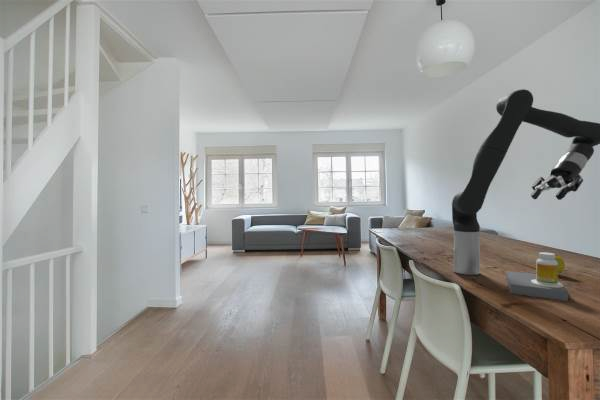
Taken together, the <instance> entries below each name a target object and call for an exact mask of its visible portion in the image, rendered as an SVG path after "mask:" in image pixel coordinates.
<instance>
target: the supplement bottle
mask: <svg viewBox="0 0 600 400" xmlns="http://www.w3.org/2000/svg"><path fill="white" fill-rule="evenodd" d="M555 255H556V254H555V253H553V252H545V251H541V252H538V257H539V258H538V259H536V261H535V264H536V266H535V267H536V268H535V272H536V273H535V274H536V281H537V282H538V283H541V284H545V285H557V284H558V281H559V274H558V262H557V261H555V260H554V259H555Z"/></svg>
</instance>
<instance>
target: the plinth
mask: <svg viewBox="0 0 600 400" xmlns="http://www.w3.org/2000/svg"><path fill="white" fill-rule="evenodd" d="M505 280H506V283H507V286H508V290H509V293H510V292H511V293H510V294H513V293H514V295H520V296H521V295H522V296H528V297H537V298H544V299H551V300H556V301H557V300H559V301H564V302H565V301H566V302H568V301H569V291H568V290H567V288H566V287H565V286H564V285H563V284H562V283H561V282H560V280H558V284H557V285H545V284H541V283H538V282H537V281H536V273H530V272H519V271H509V270H505Z"/></svg>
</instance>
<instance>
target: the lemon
mask: <svg viewBox="0 0 600 400" xmlns="http://www.w3.org/2000/svg"><path fill="white" fill-rule="evenodd" d="M554 260H555V261H557V262H558V275H559V274H561V273H563V272H564V271H565V267H566V266H565V261H564V259H563V258H562V257H561V256H559V255H557V254H555V259H554Z"/></svg>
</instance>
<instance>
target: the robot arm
mask: <svg viewBox="0 0 600 400" xmlns="http://www.w3.org/2000/svg"><path fill="white" fill-rule="evenodd" d="M533 103H534V95H533V94H532V92H531V91H530V90H528V89H524V88H523V89H518V90H514V91H512V92H510V93H508V94H506V95H504V96H503V97H501V98H499V100H498V101H497V103H496V107H495V108H496V112H497V113H498V114H499V116H501V118H500V119H499V121H498V123H497V124H496V126H495V127H494V128H493V129H492V131H490V132H489V134H488V135H487V136H486V138H485V139H484V141H483V142H482V143H481V145H480V147H479V148H478V150H477V153H476V155H475V158H474V159H473V165H472V171H471V176H470V178H469V181H468V183H467V185H466V186H465V188H464V190H463V191H460V192H457V194H455V195H454V196H453V198H452V202H451V217H452V225H453V252H452V253H453V255H452V256H453V259H452V260H453V261H452V262H453V263H452V264H453V265H452V266H453V273H456V274H461V275H465V276H466V275H467V276H478V275H479V274H481V273H480V272H481V271H480V269H481V267H480V266H481V265H480V259H481V258H480V256H481V255H480V253H481V252H480V250H481V249H480V248H481V247H480V243H481V242H480V237H481V236H480V233H481V232H480V231H481V229H480V228H481V227H480V224H479V222H478V218H477V215H478V212H479V211H481V210H482V207H483V204H484V202H485V199H486V196H487V193H488V191H489V188H490V185H491V184H492V182H493V180H494V178H495V176H496V174H497V172H498V170H499V168H500V166H501V165H502V163H503V161H504V159H505V158H506V155H507V152H508V151H509V148H510V146H511V144H512V142H513V140H514V138H515V136H516V134H517V132H518V130H519V128H520V126H521V125H522V123H527V124H530V125H533V126H537V127H539V128H542V129H544V130H547V131H549V132H552V133H554V134H557V135H559V136H562V137H563V138H568V139H569V138H572V141H571V143H570V147H569V148H568V149H567V151H566V152H565V154H564V155H562V156H561V157H560V158H559V160H558V161H557V163H556V164H555V166H553V167H552V169H551V171H550V174H549V176H547V177H545V178H544V177H543V176H540V177H538V178H537V180H535V182H534V183H533V184H532V185H531V186H530V188H531V189H532V190H533V192H532V193H531V194H530V196H531V198H532V199H533V200H537V199H538V198H539V196H540V195H541V194H542V193H543V192H545V191H549V190H551V189H556V188H557V189H559V190H558V192H557V193H556V194H555V198H556V199H557V200H558V201H561V200H562V199H564V198H565V197H566V196H567V194H568V193H570V192H573V193H574V192H575V193H576V192H577V191H578V189H579V188H580V186H581V185H582V183H583V182H584V179H583V177H582V176H581V175H580V174H581V172H582V171H583V169H584V168H585V167H586V165H587V163H588V162H589V160H590V159H591V158H592V156H593V155H594V153H595V149H594V147H595V146H598V145H600V122H595V121H589V120H588V121H587V120H580V119H578V118H576V117H573V116H570V115H568V114H565V113H561V112H557V111H551V110H545V109H541V108H537V107H533ZM546 184H547V185H546Z"/></svg>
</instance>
